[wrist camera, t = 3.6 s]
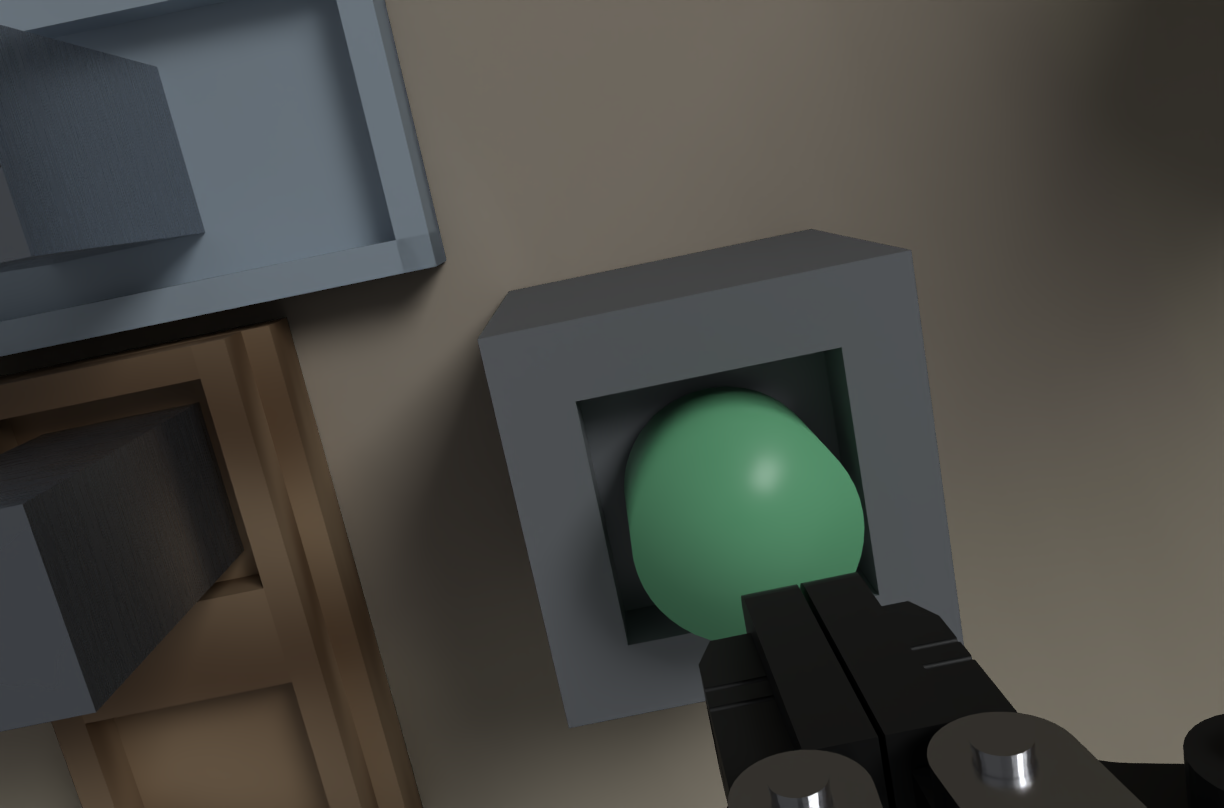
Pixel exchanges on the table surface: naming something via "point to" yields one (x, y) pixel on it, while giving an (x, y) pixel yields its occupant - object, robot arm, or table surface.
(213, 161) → the tray
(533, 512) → the grey cube holder
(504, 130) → the table surface
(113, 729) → the tray
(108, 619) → the seated billet
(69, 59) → the block
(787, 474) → the button
